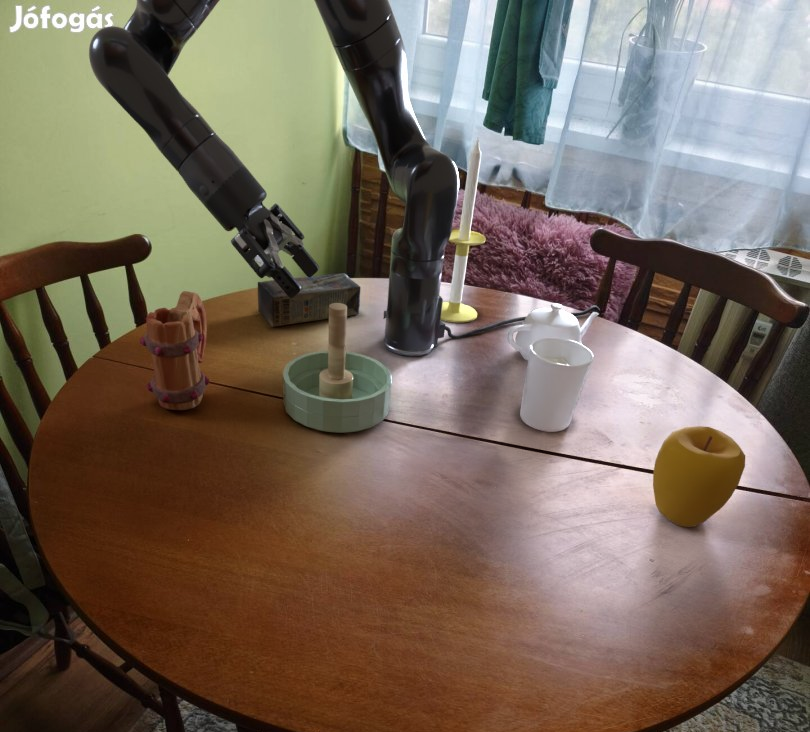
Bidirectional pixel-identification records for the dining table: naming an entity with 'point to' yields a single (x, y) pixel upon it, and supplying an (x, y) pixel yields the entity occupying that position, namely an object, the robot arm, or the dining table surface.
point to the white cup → (554, 382)
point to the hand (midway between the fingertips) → (306, 283)
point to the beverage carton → (307, 299)
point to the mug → (178, 352)
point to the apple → (696, 474)
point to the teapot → (547, 328)
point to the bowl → (337, 413)
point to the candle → (464, 246)
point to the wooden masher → (336, 357)
